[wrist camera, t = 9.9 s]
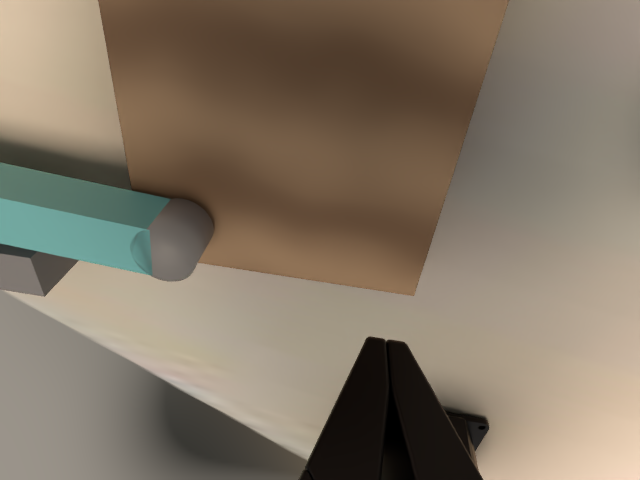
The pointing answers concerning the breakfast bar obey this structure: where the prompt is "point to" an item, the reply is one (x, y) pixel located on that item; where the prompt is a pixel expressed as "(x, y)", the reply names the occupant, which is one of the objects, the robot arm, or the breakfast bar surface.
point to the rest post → (31, 270)
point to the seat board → (302, 124)
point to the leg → (101, 223)
